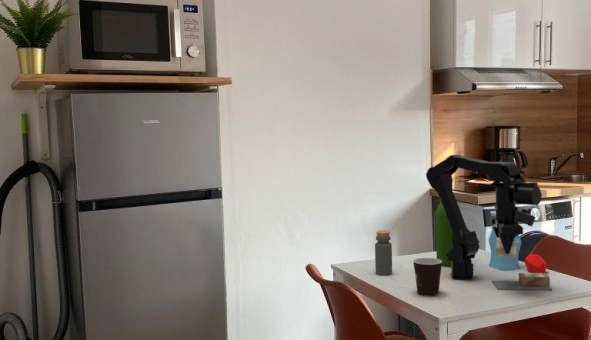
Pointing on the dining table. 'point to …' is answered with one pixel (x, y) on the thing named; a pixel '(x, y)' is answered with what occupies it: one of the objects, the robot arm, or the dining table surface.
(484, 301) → the dining table surface
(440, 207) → the wine bottle
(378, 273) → the bottle
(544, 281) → the brown block
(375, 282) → the dining table surface
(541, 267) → the apple
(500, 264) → the vase
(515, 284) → the mat
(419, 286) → the coffee mug
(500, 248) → the birch cube
